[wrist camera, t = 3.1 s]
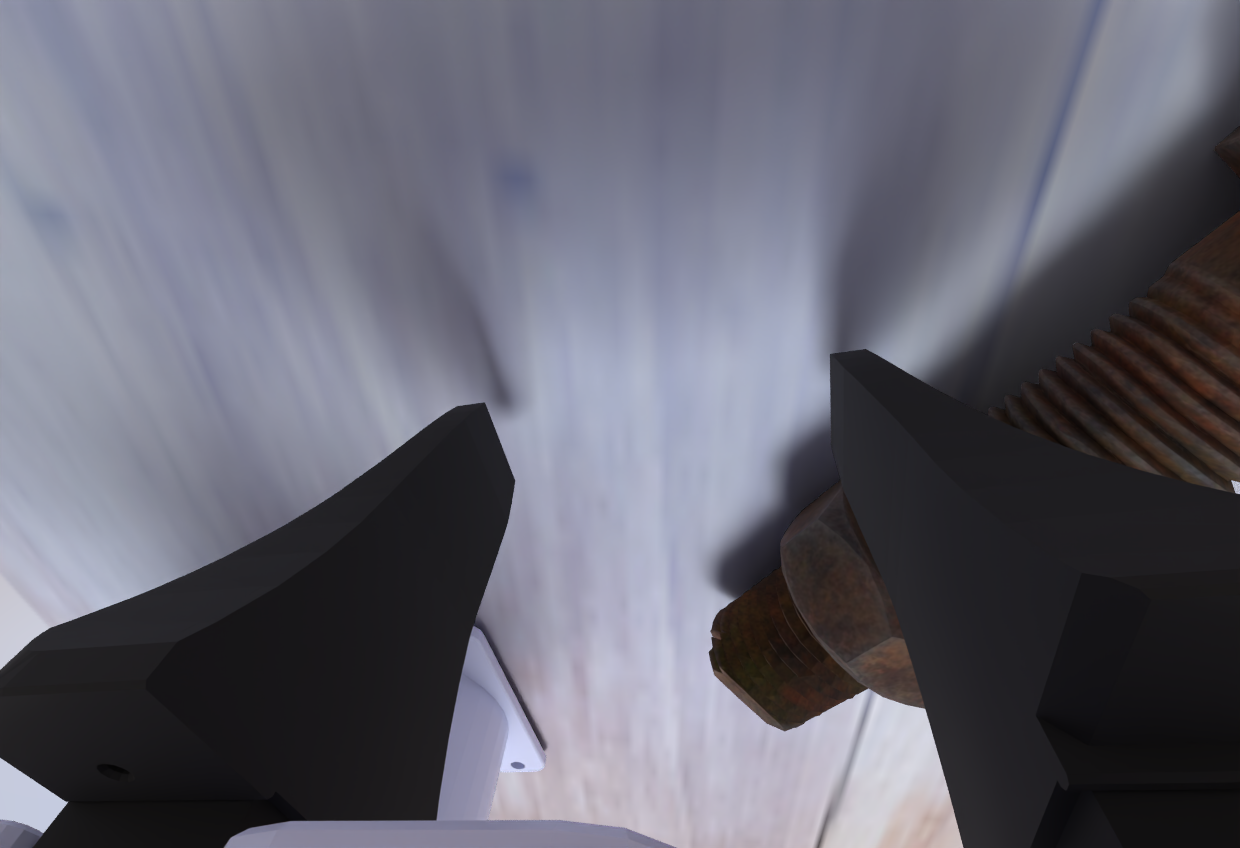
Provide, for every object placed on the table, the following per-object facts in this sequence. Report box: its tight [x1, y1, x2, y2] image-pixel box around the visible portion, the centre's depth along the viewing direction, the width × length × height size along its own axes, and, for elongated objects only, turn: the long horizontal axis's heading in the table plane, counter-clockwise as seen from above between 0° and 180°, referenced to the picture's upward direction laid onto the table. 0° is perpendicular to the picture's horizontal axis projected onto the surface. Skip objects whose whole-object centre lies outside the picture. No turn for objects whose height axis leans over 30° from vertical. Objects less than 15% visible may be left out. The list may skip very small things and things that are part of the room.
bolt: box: [709, 126, 1240, 731], centre depth 11 cm, size 6×5×15 cm
